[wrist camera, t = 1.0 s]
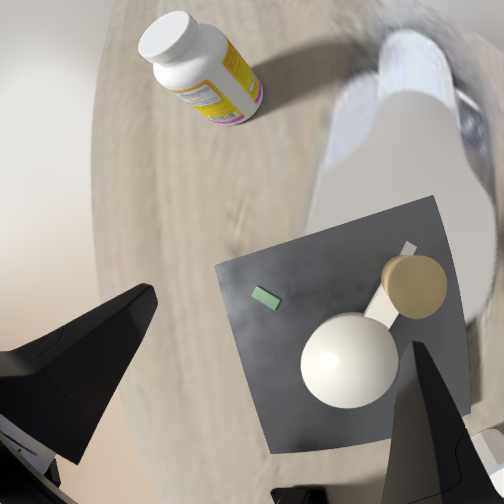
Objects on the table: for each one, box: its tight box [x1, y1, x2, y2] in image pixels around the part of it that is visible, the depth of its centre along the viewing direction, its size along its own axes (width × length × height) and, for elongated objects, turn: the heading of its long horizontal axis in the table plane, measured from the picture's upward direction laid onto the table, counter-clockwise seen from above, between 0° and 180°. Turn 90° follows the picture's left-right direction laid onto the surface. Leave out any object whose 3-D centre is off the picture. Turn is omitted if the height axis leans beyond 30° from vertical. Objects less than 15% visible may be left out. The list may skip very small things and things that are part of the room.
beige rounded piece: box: [301, 255, 447, 408], centre depth 17 cm, size 12×7×8 cm, turn 152°
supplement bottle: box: [139, 11, 263, 126], centre depth 22 cm, size 7×7×13 cm
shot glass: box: [471, 429, 504, 498], centre depth 15 cm, size 7×7×7 cm
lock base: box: [214, 195, 471, 454], centre depth 22 cm, size 20×20×3 cm
